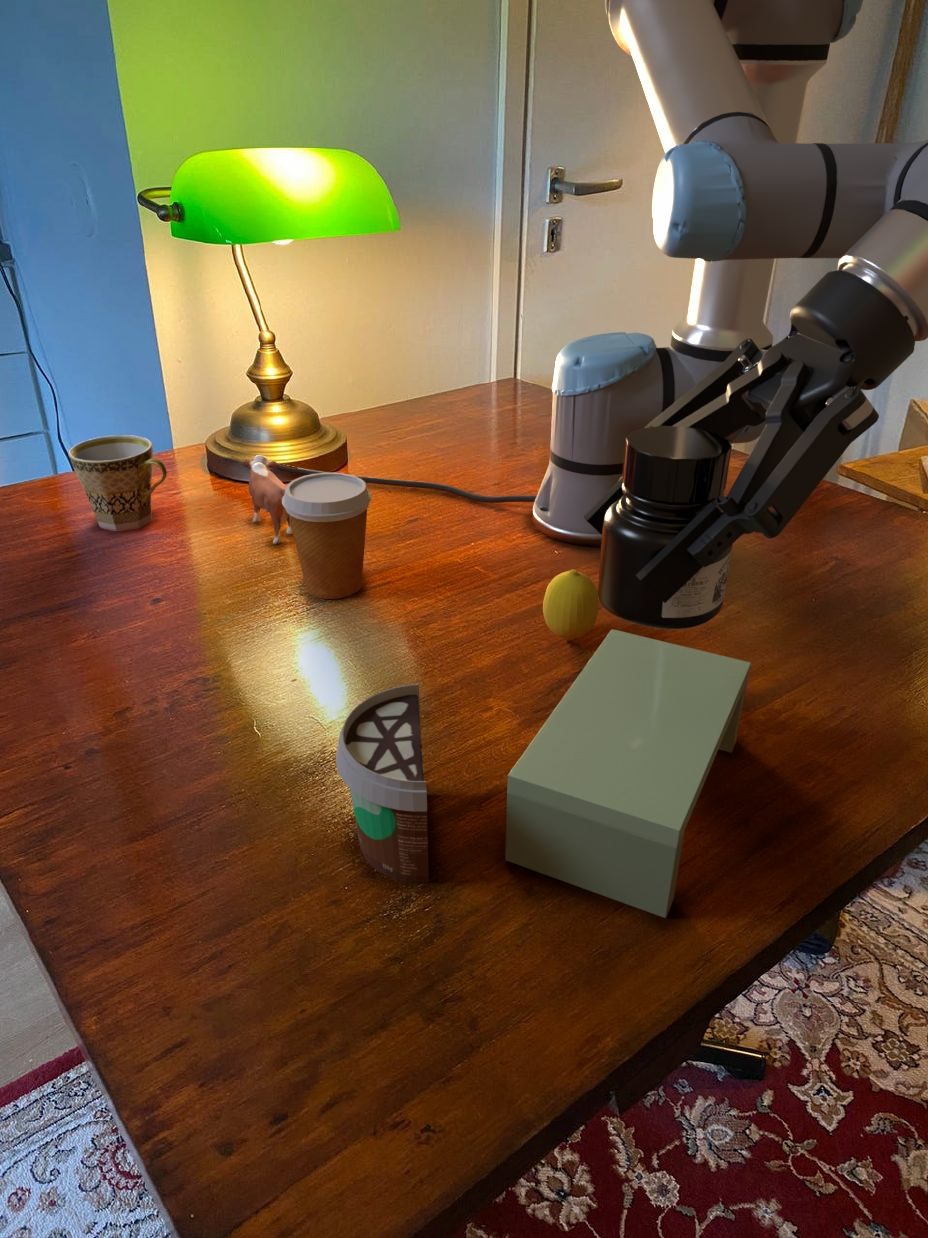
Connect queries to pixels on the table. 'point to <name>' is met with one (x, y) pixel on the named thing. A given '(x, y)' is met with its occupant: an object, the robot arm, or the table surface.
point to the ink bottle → (663, 525)
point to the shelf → (624, 768)
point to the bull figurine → (267, 493)
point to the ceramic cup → (117, 479)
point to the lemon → (570, 605)
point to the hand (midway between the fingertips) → (621, 557)
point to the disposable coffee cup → (329, 531)
